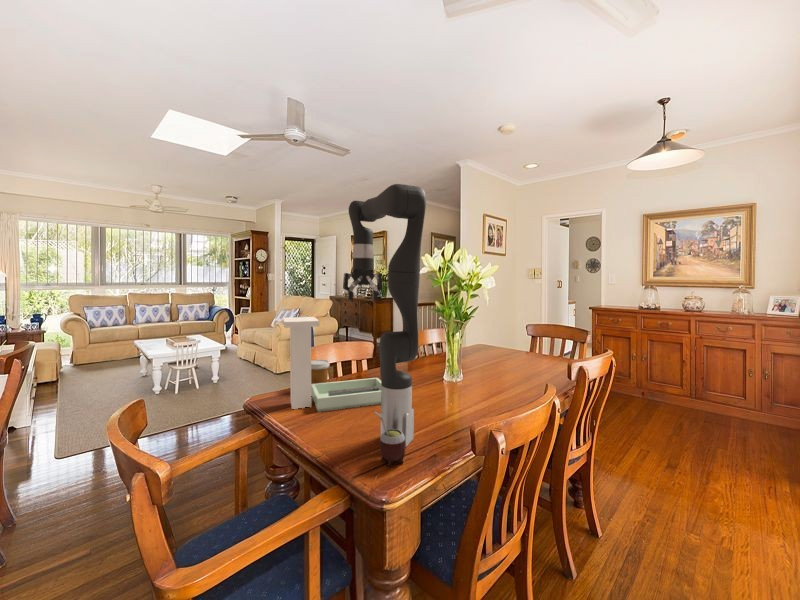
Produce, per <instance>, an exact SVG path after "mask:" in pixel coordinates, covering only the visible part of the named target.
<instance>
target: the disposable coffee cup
mask: <svg viewBox="0 0 800 600" xmlns="http://www.w3.org/2000/svg"><path fill="white" fill-rule="evenodd" d="M330 366H331V364H330V361H329V360H326V359H313V360H312V359H311V384H317V383H327V382H328V375H329V368H330Z"/></svg>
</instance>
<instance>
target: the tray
mask: <svg viewBox="0 0 800 600" xmlns="http://www.w3.org/2000/svg"><path fill="white" fill-rule="evenodd" d="M372 386H377V387H378V388H379V391H372V392H363V393H354V394H345V395H336V396H328V391H335V390H344V389H354V388H363V387H372ZM311 396H312V397H311V400H312V402H313V401H314V402H313V403H315V404H314V406H316V407H315V409H316V411H318V412H317V413H322V412H321V411H323V412H329V410H331V411H339V410H345V409H346V408H347V409H353V407H354V408H361V407H360V406H362V407H368V406H369V405H370V406H375V405H377V406H378V405H381V379H380V378H379V377H371V378H370V377H369V378H361V379H360V378H359V379H351V380H341V381H329V382H328V381H327V383H317V384H311ZM338 409H339V410H338Z"/></svg>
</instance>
